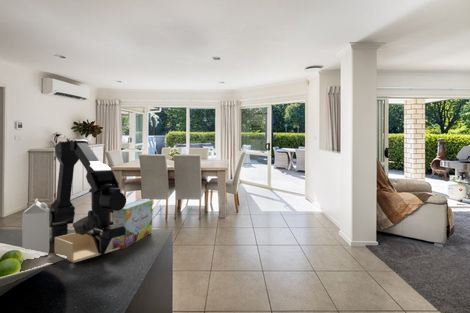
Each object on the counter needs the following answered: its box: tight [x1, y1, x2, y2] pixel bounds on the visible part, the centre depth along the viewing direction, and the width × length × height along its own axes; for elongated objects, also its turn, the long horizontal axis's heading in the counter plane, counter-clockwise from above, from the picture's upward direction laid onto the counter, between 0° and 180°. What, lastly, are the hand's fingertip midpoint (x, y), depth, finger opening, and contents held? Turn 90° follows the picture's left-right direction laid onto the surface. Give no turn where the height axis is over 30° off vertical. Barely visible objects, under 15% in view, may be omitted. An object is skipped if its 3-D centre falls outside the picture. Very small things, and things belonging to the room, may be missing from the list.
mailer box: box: [54, 232, 109, 263], centre depth 106 cm, size 11×13×6 cm
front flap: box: [72, 247, 120, 263], centre depth 101 cm, size 1×13×6 cm
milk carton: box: [21, 197, 50, 254], centre depth 104 cm, size 7×7×19 cm
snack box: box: [111, 198, 153, 250], centre depth 122 cm, size 21×6×15 cm, turn 168°
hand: (101, 254), depth 100 cm, fingers closed
